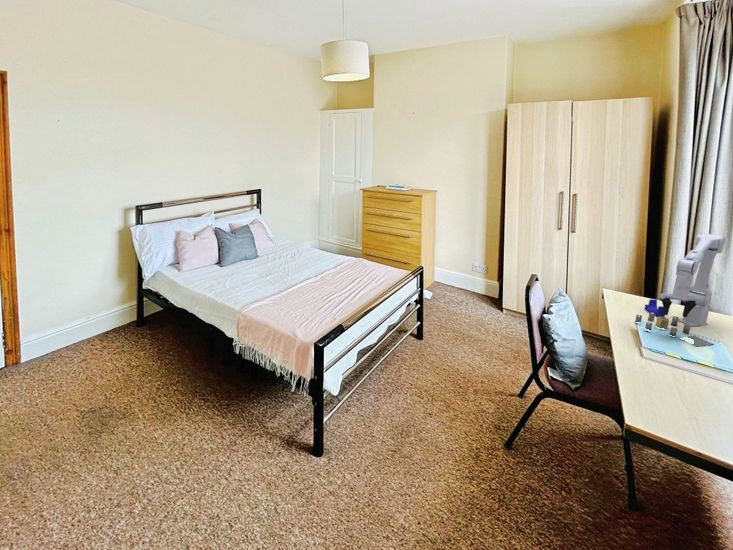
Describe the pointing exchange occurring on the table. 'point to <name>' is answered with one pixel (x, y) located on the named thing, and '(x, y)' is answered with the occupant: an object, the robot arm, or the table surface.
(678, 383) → the table surface
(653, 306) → the cable clip
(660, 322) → the brass nut
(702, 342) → the mat
